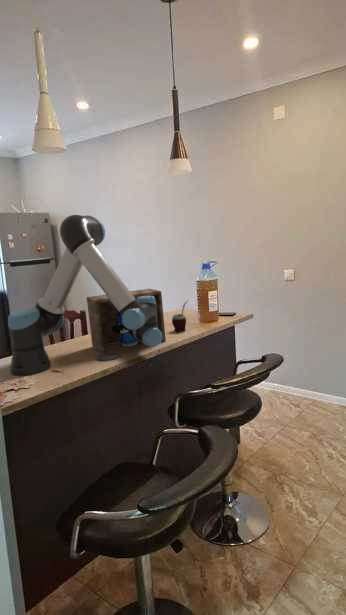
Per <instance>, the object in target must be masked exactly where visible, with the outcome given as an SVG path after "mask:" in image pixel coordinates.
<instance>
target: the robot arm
mask: <svg viewBox="0 0 346 615" xmlns="http://www.w3.org/2000/svg"><path fill="white" fill-rule="evenodd" d="M59 235H60V239H61V241H62V242H63V244H64V246H65V249H64V252H63V253H62V256H61V259H60V261H59V262H58V264H57V268H56V270H55V272H54V274H53V275H52V278H51V280H50V283H49V285H48V287H47V289H46V291H45V294H44V296H43V297H41V298H39V299H38V300H37V301H36V304H35V305H34V306H35V307H27V308H22V309H18V310H15V311H13V312H11V313H10V314H9V315H8V317H7V323H8V324H7V326H8V329H9V330H8V332H9V335H10V343H11V349H12V356H11V362H10V365H9V366H10V367H9V369H10V373H11V374H12V375H13V376H26V375H27V376H28V375H33V374H37V373H41V372H44V371H46V370H49V369H50V368H51V367H52V362H51V358H50V356H49V355H48V353H47V351H46V348H45V344H44V338H45V337H46V336H49V335H51V334H54V333H56V332H57V331H58V330H59V329H61V327H63V324H64V322H65V315H64V314H65V311H66V310H65V303H66V301H67V299H68V297H69V295H70V293H71V290H72V288H73V286H74V284H75V282H76V281H77V278H78V276H79V273H80V271H81V270H82V267H83V266H84V268H85V269H86V270H87V272H88V273H89V274H90V275H91V277H92V278H93V280H94V281H95V282H96V283H97V285H98V287H100V289H101V290H102V291H103V293H104V295H107V296H108V298H109V299H110V300H111V302H112V303H113V304H114V306H115V307H116V308H117V310H118V311H119V312H120V313H121V315H122V322H123V325H124V326H122V325H119V324H118V323H116V322H113V323H114V326H112V331H113V332H115V333H119V334H121V335H124V334H125V332H126V333H129V334H130V335H131V336H132V337H133V338H135V339H136V340H138V342H140V343H142V344H143V345H145V346H148V347H151V348H155V347H157V346H159V345H160V344H161V343H162V342H163V341H162V338H163V336H162V333H161V331H160V330H159V329H158V322H157V311H156V301H155V297H154V296H141V297H138V298H137V299H135V298H134V296H133V295H132V294H131V292H130V291H131V290H129V288H128V287H127V286H126V284H125V283H124V281H122V279H121V278H120V277H119V275H118V274H117V273H116V271H115V270H114V269H113V267H112V266H111V265H110V263H109V262H108V261H107V260H106V259H105V257H104V255H103V254H102V253H101V252H100V250H99V248H97V246H99V245H100V244H101V243H102V242H104V239H105V236H106V230H105V226H104V224H103V222H102V221H101V220H100V219H99V218H97V217H94V216H92V215H82V214H81V215H80V214H71V215H69V216H66V218H64V219H63V221H62V222H61V224H60V227H59Z"/></svg>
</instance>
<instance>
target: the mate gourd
mask: <svg viewBox="0 0 346 615" xmlns="http://www.w3.org/2000/svg"><path fill="white" fill-rule="evenodd" d="M188 302H189V299H187V301H186V302H184V303H183V305H182V311H181V313H180V314H174V315H173V316H172V318H171V323H172V326H173V327H174V330H173V331H176V333H180V332H186V324H187V318H186V316H185V315H184V314H183V313H184V310H185V307H186V304H187V303H188Z"/></svg>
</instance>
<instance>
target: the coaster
mask: <svg viewBox="0 0 346 615" xmlns="http://www.w3.org/2000/svg"><path fill="white" fill-rule="evenodd" d="M121 355H122V354H121V353H119V352H106V353H102V354H101V353H100V354H99V355H97V356H96V357H95V358H96V360H97V361H99V362H109V361H108V360H110V361H114V359H115V360H117V358H118V359H119V357H120V358H121Z"/></svg>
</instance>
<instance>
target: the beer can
mask: <svg viewBox="0 0 346 615" xmlns="http://www.w3.org/2000/svg"><path fill="white" fill-rule="evenodd" d="M117 321H118V324H119V325H122V326H124V325H123V322H122V315H121V313H120V312H119V313H118V315H117ZM119 339H120V342H119V344H121V346H123V347H132V346H135V345H136V346H137V344H138V342H139V340H136V339H135V338H133V337H132V336H131V335H130V334H129V333H126V332H125V334H124V335H121V334H119Z"/></svg>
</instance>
